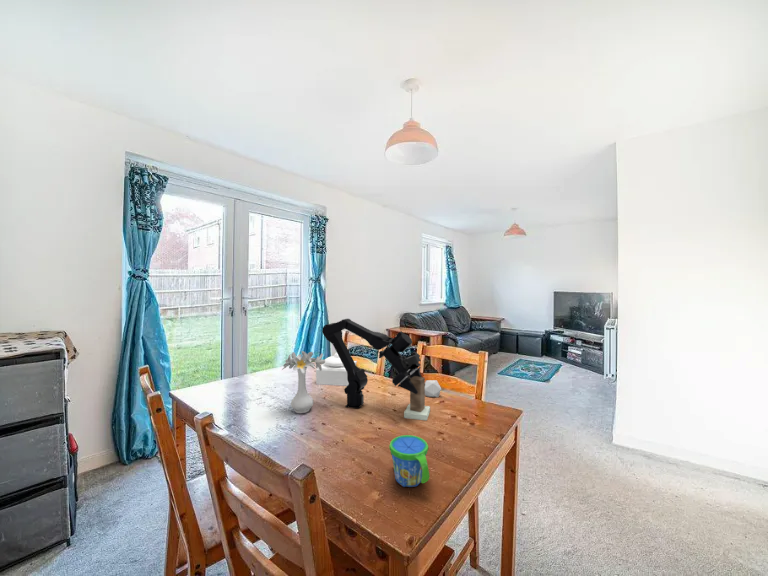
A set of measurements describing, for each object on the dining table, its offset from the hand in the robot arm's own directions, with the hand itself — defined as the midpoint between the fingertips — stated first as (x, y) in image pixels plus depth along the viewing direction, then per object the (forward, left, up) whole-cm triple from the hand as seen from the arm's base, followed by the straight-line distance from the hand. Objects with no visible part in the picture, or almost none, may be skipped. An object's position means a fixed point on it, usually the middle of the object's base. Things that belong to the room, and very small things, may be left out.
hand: (420, 389), depth 127 cm
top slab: (-1, 0, -10) cm, 10 cm away
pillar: (-1, 0, -8) cm, 8 cm away
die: (+2, +23, -12) cm, 26 cm away
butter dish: (-52, +36, -12) cm, 65 cm away
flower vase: (-50, -5, -12) cm, 52 cm away
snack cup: (+3, -40, -12) cm, 42 cm away
